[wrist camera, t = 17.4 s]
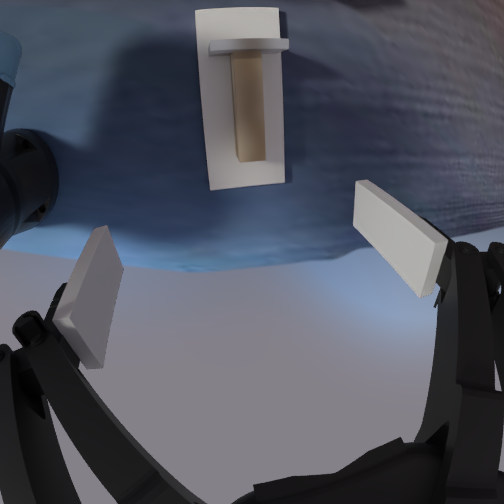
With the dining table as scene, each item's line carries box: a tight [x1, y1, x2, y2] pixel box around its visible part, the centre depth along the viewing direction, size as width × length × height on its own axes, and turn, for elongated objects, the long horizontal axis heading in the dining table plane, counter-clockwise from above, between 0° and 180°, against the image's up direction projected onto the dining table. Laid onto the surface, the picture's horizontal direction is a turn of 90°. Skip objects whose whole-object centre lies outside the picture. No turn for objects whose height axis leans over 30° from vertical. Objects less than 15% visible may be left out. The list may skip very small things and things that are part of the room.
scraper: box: [208, 38, 289, 163], centre depth 30 cm, size 8×14×6 cm, turn 3°
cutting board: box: [195, 7, 285, 191], centre depth 33 cm, size 10×24×1 cm, turn 4°
